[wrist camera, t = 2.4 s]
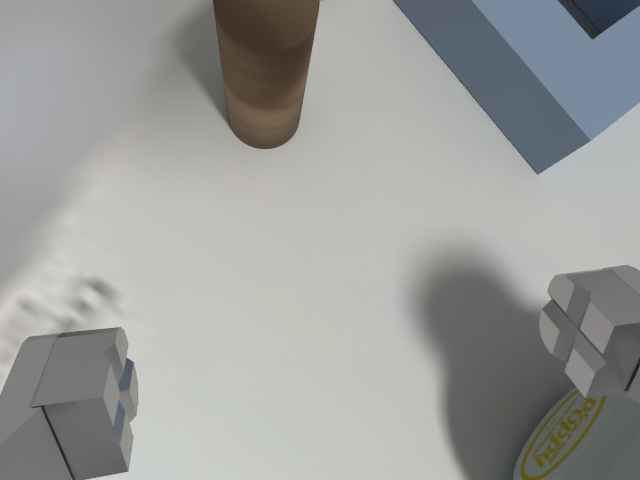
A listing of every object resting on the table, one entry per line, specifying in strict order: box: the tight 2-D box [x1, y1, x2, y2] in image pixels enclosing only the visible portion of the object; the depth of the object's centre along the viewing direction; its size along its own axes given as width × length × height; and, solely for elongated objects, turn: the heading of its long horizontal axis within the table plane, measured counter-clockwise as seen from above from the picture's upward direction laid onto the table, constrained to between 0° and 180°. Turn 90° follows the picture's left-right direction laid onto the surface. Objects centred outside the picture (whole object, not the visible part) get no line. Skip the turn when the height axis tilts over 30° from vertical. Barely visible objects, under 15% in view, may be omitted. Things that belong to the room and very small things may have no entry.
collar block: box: [394, 0, 640, 174], centre depth 30 cm, size 14×14×5 cm
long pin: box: [213, 0, 319, 149], centre depth 24 cm, size 4×4×10 cm
